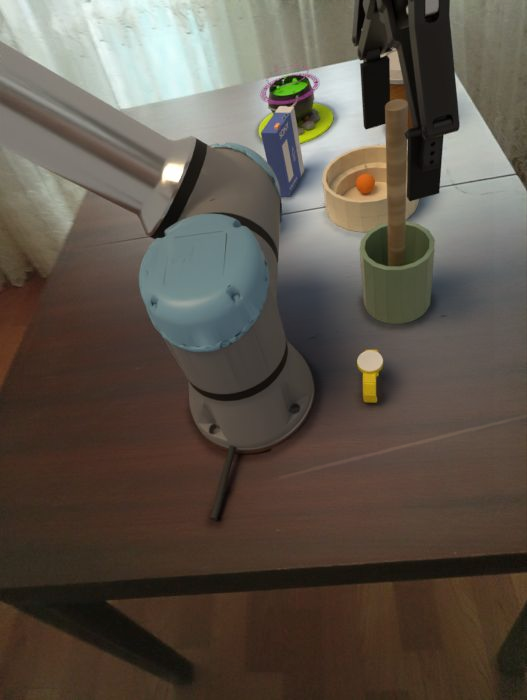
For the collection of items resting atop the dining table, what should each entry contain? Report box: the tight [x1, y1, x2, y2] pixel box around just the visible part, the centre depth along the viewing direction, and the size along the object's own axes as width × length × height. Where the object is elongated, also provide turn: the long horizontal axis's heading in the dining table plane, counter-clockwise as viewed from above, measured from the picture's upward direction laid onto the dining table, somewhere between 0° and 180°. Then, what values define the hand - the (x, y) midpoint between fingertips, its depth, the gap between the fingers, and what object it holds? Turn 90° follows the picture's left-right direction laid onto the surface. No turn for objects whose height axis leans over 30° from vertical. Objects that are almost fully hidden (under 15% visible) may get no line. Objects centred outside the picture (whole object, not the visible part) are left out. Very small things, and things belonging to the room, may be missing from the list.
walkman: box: [261, 106, 305, 198], centre depth 82 cm, size 8×3×12 cm, turn 157°
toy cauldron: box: [258, 60, 334, 145], centre depth 95 cm, size 15×15×11 cm
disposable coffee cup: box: [380, 48, 413, 130], centre depth 85 cm, size 10×10×12 cm
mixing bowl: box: [321, 144, 420, 233], centre depth 76 cm, size 14×14×6 cm
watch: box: [356, 349, 384, 404], centre depth 56 cm, size 6×3×6 cm, turn 170°
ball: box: [356, 174, 375, 193], centre depth 79 cm, size 3×3×3 cm
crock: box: [359, 220, 436, 325], centre depth 62 cm, size 8×8×10 cm
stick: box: [384, 99, 408, 266], centre depth 55 cm, size 2×2×26 cm
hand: (397, 157), depth 49 cm, fingers open, 13 cm apart
